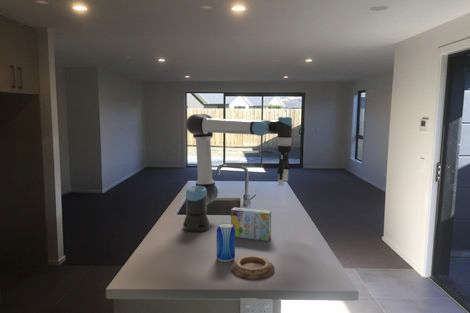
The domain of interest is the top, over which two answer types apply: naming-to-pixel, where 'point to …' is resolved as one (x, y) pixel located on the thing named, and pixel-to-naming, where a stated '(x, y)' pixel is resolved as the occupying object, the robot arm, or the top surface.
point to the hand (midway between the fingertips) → (283, 183)
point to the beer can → (225, 242)
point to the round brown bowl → (252, 267)
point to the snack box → (251, 223)
